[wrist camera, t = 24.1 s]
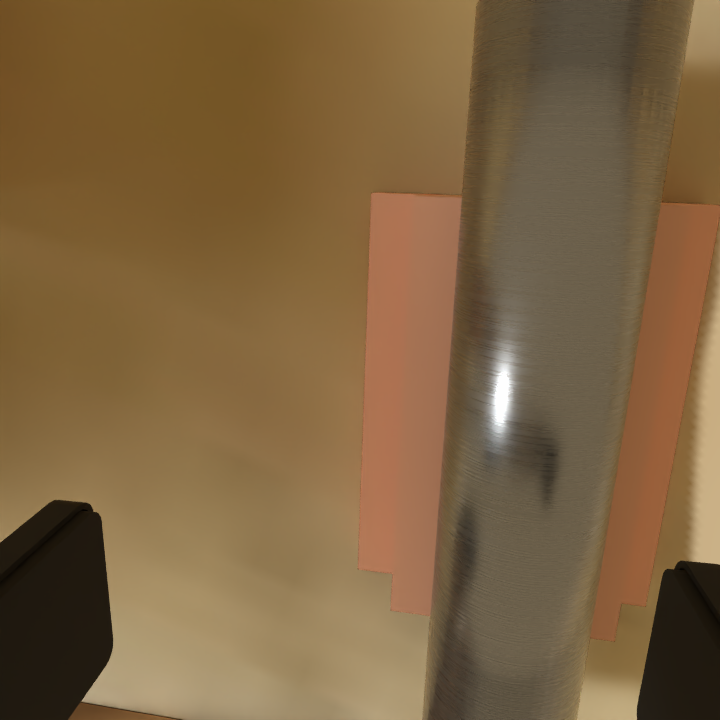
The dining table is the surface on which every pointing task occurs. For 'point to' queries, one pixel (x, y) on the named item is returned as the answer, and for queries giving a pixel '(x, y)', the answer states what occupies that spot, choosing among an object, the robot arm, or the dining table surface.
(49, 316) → the dining table surface
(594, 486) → the axle
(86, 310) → the dining table surface
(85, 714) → the beam
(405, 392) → the v block
